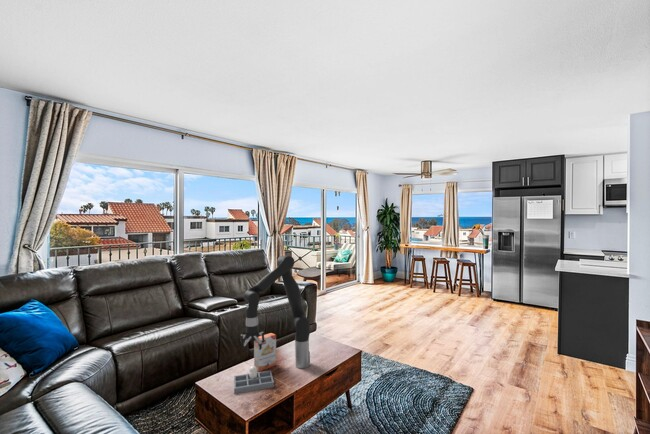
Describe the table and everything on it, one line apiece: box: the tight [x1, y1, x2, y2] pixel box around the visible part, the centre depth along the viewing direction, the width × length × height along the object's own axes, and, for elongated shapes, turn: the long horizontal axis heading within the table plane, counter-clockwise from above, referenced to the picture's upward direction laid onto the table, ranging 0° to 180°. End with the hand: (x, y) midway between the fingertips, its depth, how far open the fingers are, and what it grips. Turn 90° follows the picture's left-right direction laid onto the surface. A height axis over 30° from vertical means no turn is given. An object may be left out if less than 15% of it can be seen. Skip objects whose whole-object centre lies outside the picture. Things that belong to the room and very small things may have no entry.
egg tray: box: [233, 370, 275, 394], centre depth 191 cm, size 22×15×3 cm
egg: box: [248, 365, 258, 379], centre depth 194 cm, size 5×5×8 cm
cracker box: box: [253, 332, 277, 373], centre depth 212 cm, size 14×6×21 cm, turn 134°
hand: (252, 350), depth 194 cm, fingers open, 8 cm apart
